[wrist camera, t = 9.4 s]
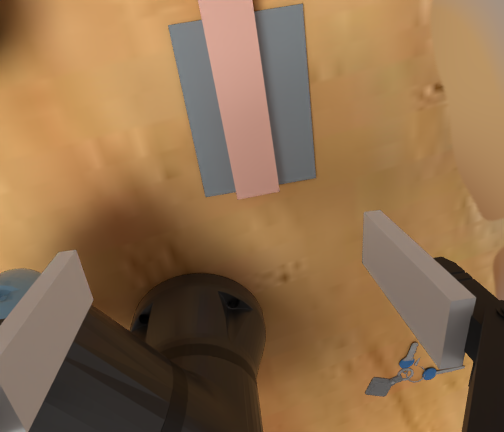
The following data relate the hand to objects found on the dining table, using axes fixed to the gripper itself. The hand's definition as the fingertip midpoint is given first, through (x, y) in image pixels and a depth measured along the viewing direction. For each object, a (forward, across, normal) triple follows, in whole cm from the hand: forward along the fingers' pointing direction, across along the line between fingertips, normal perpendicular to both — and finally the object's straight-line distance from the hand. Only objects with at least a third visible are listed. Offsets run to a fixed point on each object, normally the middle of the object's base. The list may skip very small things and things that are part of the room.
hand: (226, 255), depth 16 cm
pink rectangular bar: (+18, -2, -5) cm, 19 cm away
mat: (+19, -3, -4) cm, 20 cm away
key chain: (+20, -22, +32) cm, 43 cm away
